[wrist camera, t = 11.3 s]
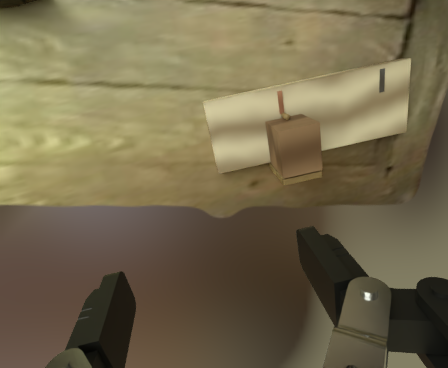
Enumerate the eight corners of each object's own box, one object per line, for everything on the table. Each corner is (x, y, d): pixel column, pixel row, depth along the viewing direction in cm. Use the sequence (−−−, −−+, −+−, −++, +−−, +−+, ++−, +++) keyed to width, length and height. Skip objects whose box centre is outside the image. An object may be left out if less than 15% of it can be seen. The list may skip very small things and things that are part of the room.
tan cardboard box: (262, 114, 40) (277, 125, 34) (297, 106, 40) (319, 116, 34) (269, 167, 43) (284, 186, 37) (302, 159, 44) (323, 177, 37)
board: (202, 101, 40) (203, 103, 38) (400, 58, 41) (412, 58, 39) (217, 169, 44) (218, 174, 42) (397, 128, 45) (407, 132, 43)
